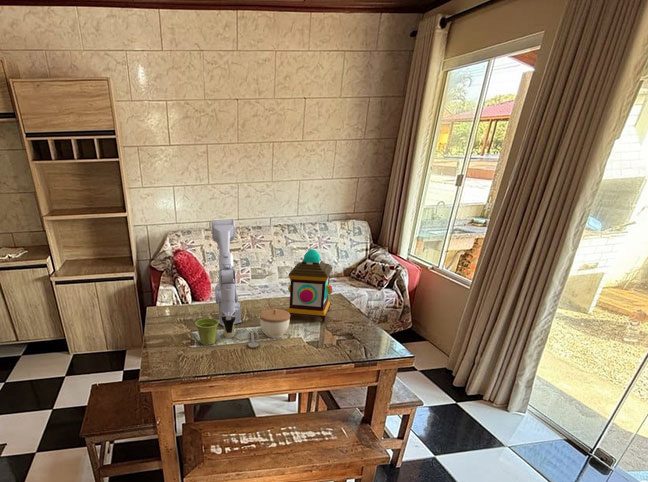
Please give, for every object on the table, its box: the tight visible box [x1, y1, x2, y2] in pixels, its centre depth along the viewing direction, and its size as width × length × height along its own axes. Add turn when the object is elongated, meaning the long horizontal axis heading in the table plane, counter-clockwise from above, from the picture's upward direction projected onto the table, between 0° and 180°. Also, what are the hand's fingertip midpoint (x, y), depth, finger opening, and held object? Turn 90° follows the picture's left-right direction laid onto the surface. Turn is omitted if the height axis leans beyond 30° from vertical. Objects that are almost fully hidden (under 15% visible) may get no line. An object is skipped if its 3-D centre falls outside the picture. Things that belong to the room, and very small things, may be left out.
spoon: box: [247, 331, 260, 349], centre depth 167 cm, size 15×4×1 cm, turn 179°
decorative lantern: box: [286, 248, 334, 324], centre depth 183 cm, size 20×20×30 cm
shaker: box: [223, 315, 236, 339], centre depth 170 cm, size 5×5×9 cm
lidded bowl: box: [259, 308, 291, 339], centre depth 169 cm, size 13×13×11 cm
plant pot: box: [194, 317, 219, 346], centre depth 165 cm, size 9×9×9 cm
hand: (229, 329), depth 171 cm, fingers open, 5 cm apart
